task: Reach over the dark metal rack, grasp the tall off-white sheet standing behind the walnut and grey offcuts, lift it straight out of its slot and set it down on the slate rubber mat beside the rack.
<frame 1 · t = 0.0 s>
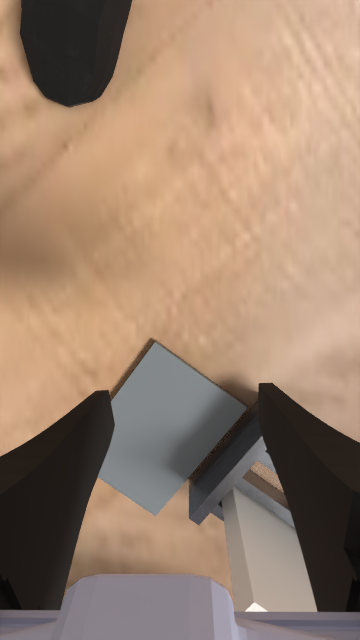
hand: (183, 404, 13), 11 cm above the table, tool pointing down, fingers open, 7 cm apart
gaming mouse: (93, 8, 20), on the table
mat: (156, 431, 24), on the table
sheet: (257, 501, 25), resting in rack
rack: (280, 478, 24), on the table
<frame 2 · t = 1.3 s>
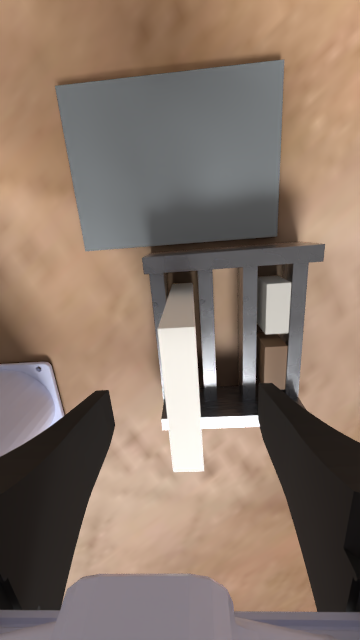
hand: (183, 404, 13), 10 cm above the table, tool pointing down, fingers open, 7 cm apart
mat: (174, 167, 18), on the table
sheet: (186, 330, 22), resting in rack
rack: (225, 328, 22), on the table
offcut grey: (265, 298, 21), resting in rack
offcut walnut: (264, 351, 22), resting in rack
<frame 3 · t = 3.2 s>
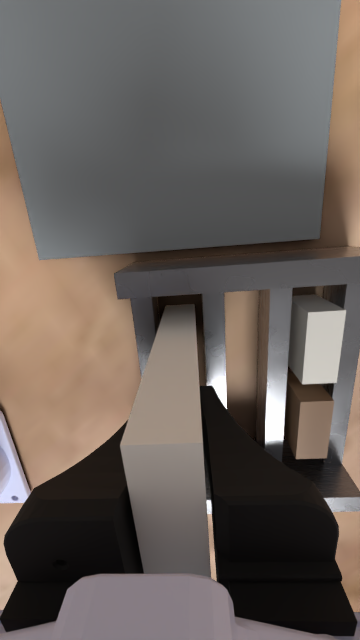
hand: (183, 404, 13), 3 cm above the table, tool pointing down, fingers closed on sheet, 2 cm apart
mat: (166, 135, 12), on the table
sheet: (185, 368, 16), resting in rack, touching gripper
rack: (239, 366, 16), on the table
offcut grey: (297, 326, 15), resting in rack
offcut walnut: (292, 396, 16), resting in rack
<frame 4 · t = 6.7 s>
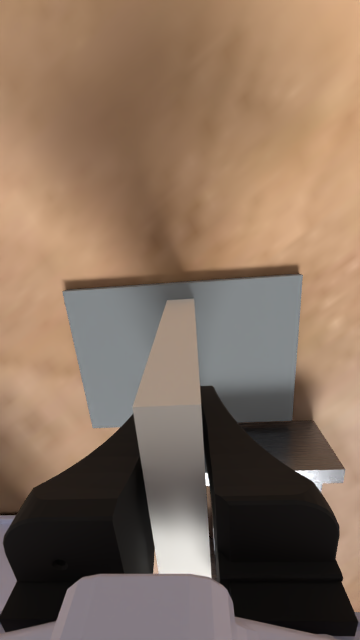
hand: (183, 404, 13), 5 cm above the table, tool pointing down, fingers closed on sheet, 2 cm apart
mat: (185, 357, 17), on the table
sheet: (185, 359, 17), resting on mat, touching gripper
rack: (236, 490, 21), on the table
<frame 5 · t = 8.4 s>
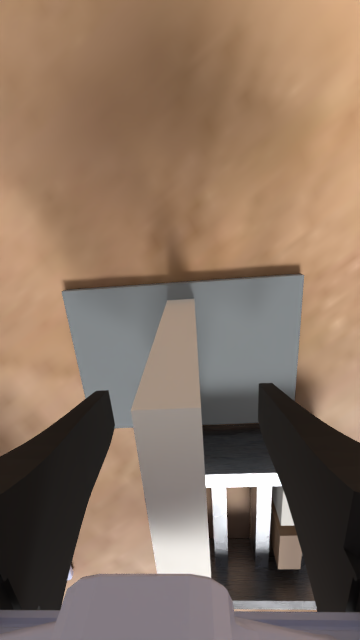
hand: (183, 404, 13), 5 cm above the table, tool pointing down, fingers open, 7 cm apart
mat: (185, 357, 17), on the table
sheet: (185, 360, 17), resting on mat
rack: (236, 491, 21), on the table
offcut grey: (279, 467, 20), resting in rack
offcut walnut: (277, 510, 21), resting in rack
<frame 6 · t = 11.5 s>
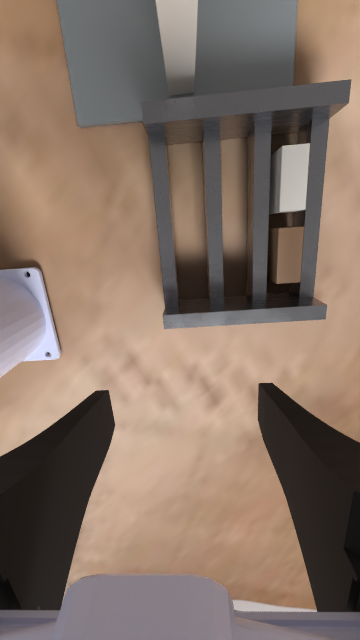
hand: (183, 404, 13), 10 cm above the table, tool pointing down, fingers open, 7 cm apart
mat: (176, 19, 16), on the table
sheet: (176, 11, 15), resting on mat
rack: (232, 224, 20), on the table
offcut grey: (278, 186, 19), resting in rack
offcut walnut: (275, 252, 20), resting in rack
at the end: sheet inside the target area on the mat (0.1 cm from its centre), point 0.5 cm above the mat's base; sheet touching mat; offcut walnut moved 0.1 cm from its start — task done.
